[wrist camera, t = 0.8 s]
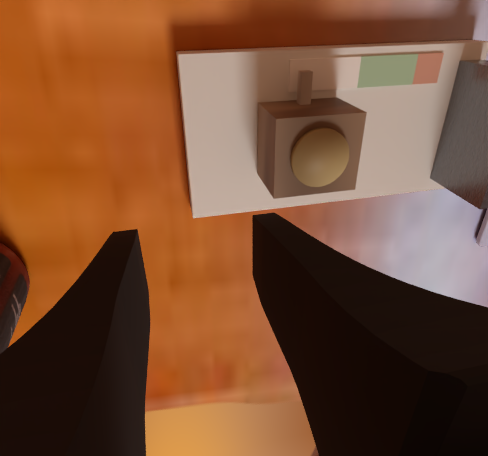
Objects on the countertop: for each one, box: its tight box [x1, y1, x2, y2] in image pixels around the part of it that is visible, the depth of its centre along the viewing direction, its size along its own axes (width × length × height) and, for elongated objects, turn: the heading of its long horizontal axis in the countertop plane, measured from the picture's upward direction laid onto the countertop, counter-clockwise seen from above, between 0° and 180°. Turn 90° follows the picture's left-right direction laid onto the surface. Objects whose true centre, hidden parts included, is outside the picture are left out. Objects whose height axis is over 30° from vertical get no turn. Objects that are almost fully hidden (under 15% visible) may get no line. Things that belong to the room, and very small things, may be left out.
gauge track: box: [176, 40, 488, 218], centre depth 20 cm, size 16×8×1 cm, turn 91°
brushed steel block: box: [430, 59, 488, 209], centre depth 19 cm, size 1×6×4 cm, turn 1°
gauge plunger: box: [257, 70, 367, 199], centre depth 18 cm, size 4×5×3 cm
